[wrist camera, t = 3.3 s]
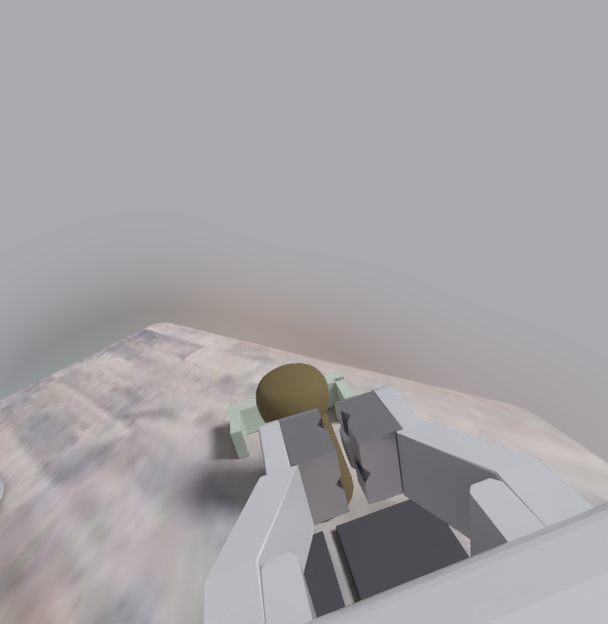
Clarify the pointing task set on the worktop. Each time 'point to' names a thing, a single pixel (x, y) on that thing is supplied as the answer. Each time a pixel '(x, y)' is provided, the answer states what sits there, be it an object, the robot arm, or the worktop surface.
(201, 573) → the worktop surface
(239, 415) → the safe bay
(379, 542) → the trap squares
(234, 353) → the worktop surface
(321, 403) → the cork
